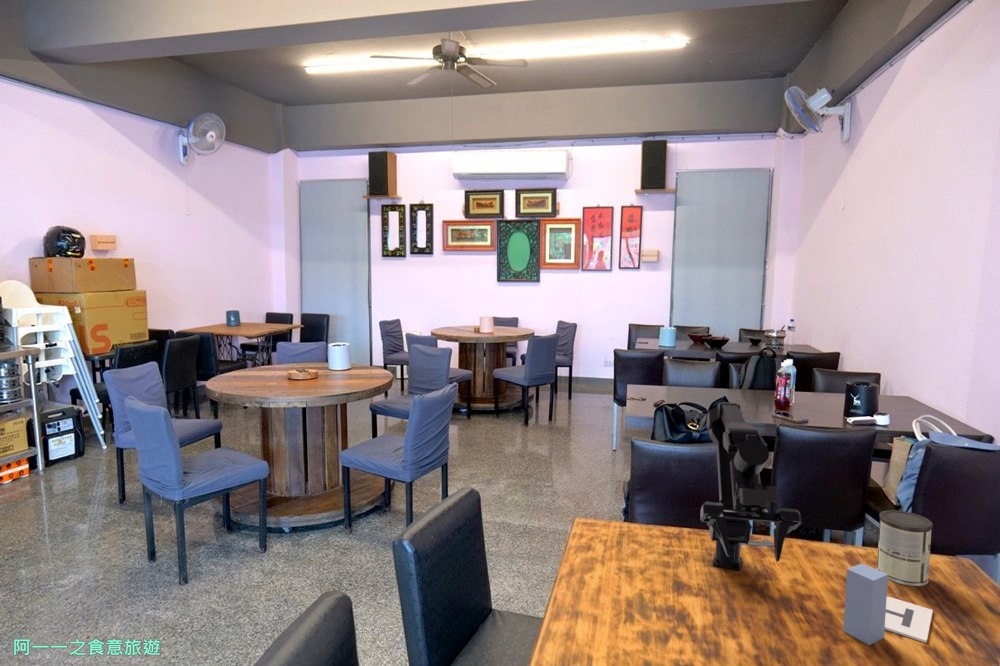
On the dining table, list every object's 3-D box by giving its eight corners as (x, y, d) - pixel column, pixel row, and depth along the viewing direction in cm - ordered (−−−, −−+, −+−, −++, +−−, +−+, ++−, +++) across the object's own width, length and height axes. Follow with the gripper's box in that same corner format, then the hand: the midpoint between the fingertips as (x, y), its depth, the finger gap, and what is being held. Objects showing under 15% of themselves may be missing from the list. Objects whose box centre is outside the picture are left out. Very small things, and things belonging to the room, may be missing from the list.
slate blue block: (843, 631, 115) (847, 569, 114) (858, 624, 118) (861, 563, 116) (869, 645, 111) (873, 580, 110) (883, 637, 113) (888, 574, 112)
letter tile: (843, 615, 121) (843, 613, 121) (856, 589, 131) (856, 586, 131) (926, 643, 112) (926, 640, 111) (932, 612, 122) (932, 609, 122)
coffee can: (870, 562, 144) (874, 507, 143) (919, 568, 141) (923, 513, 139) (883, 582, 134) (887, 523, 133) (935, 590, 131) (940, 530, 130)
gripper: (704, 465, 119) (708, 543, 111) (803, 472, 115) (815, 554, 106) (698, 484, 128) (702, 557, 120) (789, 491, 124) (799, 567, 116)
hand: (752, 558), depth 115 cm, fingers open, 9 cm apart
